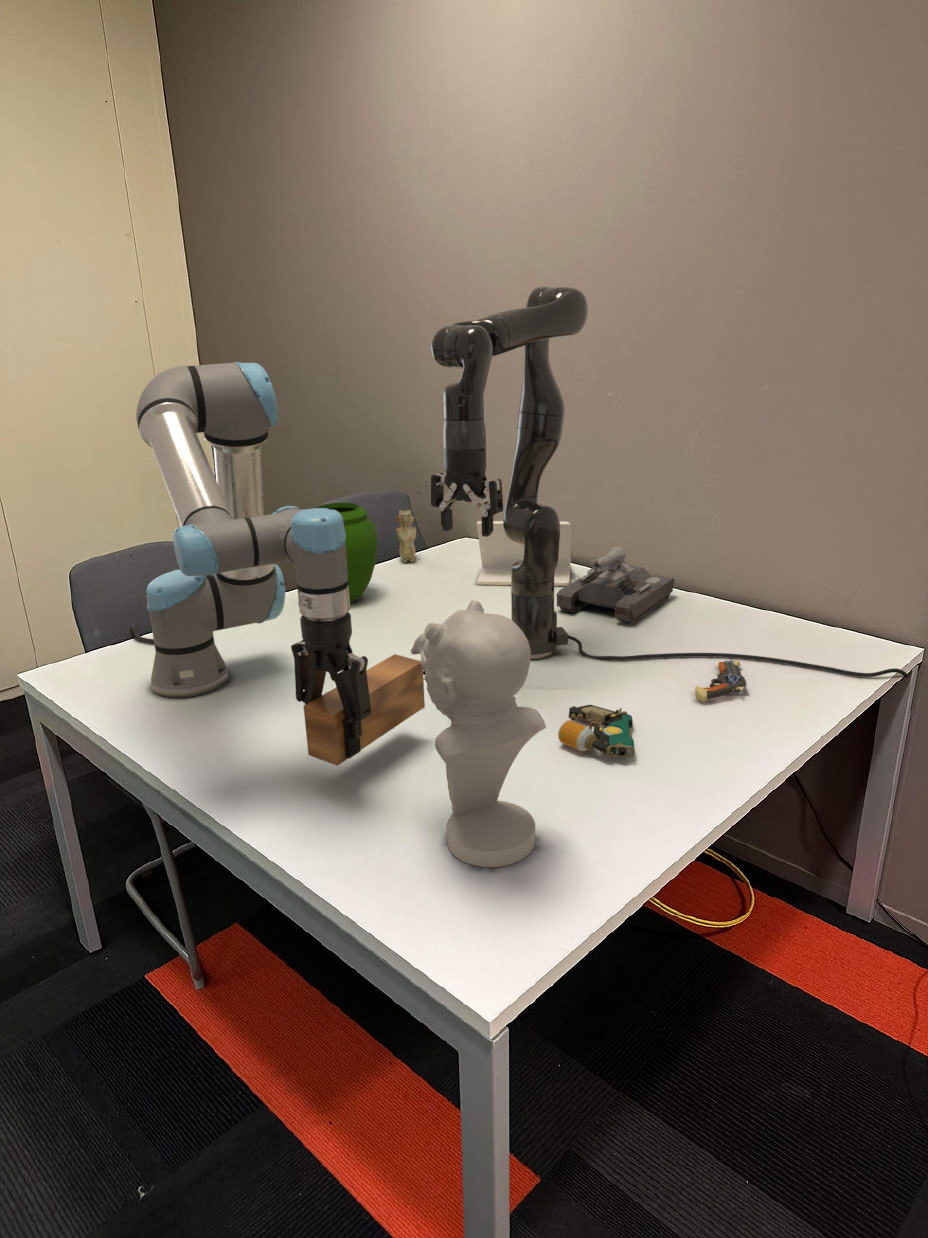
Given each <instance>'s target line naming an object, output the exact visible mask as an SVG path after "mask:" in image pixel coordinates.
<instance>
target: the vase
mask: <svg viewBox="0 0 928 1238" xmlns="http://www.w3.org/2000/svg"><path fill="white" fill-rule="evenodd" d="M316 508H326V509H329V510H336V511H338V512H339V513H340V514H341V515H342V517H343V523H344V530H345V533H346V557H347V572H348V587H349V598H350V603H352V602H355V601H357V600H358V599H360V598H361V597H363V594H365V592H366V590H367V588H368V586H369V584H370V582H371V581H372V578H373V573H374V570H375V566H376V562H377V553H378V542H379V537H378V533H377V530H376V527H375V524H374V523H373V522H372V520H370V519H369V518H368V511H367V510H366V509H364V508H363V507H362V506H361V505H359V504H356V503H352V502H331V503H326V504H321V505H318V506H316Z"/></svg>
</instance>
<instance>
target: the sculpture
mask: <svg viewBox="0 0 928 1238" xmlns="http://www.w3.org/2000/svg"><path fill="white" fill-rule="evenodd" d="M398 511H399V515H398V517H396V521H397V522H398V523H399V525H400V526H399V527H397V528H396V534H397V538H398V541H399V542H400V545H399V548H398V549H399V557H400V558H401V561H402V563H407V562H408V561H409V562H410V563H411V562H415V558H416V546H415V540H416V537H417V528H416V527H415V526H412V524H413V523H414V522H415V517H414V516H413V515H412V510H411V509H406V510H404V509H403V510H402V509H400V510H398Z"/></svg>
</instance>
